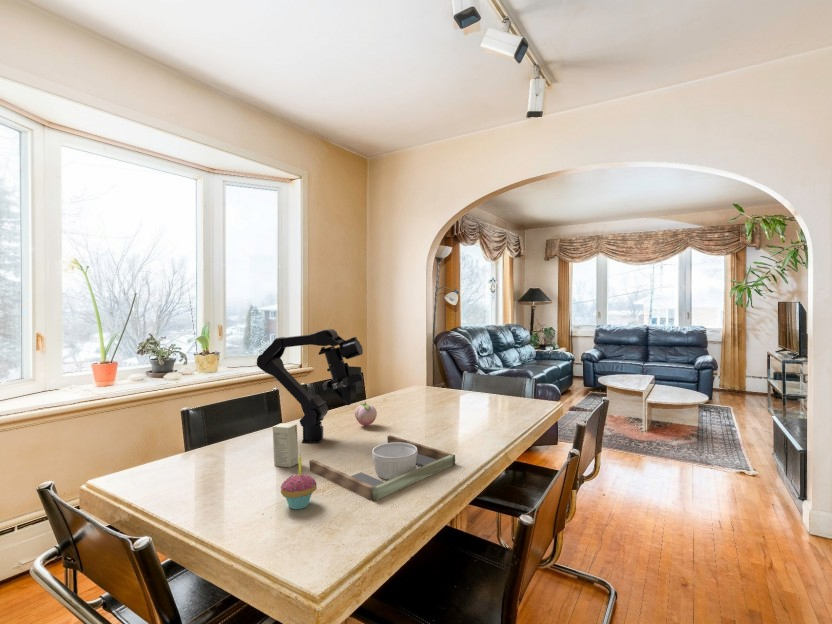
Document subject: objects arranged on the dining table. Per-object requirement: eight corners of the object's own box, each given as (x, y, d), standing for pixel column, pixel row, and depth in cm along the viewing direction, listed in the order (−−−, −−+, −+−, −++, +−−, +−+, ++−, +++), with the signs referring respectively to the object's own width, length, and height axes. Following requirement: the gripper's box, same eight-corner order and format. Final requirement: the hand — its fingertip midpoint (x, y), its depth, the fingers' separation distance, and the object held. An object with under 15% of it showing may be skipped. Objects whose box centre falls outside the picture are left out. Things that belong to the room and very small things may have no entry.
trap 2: (400, 459, 133) (400, 457, 133) (414, 454, 138) (414, 452, 138) (424, 468, 126) (424, 465, 126) (437, 462, 131) (437, 459, 131)
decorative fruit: (381, 427, 169) (380, 402, 168) (362, 431, 164) (362, 405, 164) (369, 422, 176) (369, 398, 176) (352, 425, 172) (351, 401, 172)
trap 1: (344, 481, 117) (344, 478, 117) (361, 475, 122) (361, 472, 122) (367, 492, 110) (367, 489, 110) (384, 485, 115) (384, 482, 115)
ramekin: (364, 478, 119) (363, 454, 119) (384, 462, 132) (383, 439, 132) (407, 485, 115) (407, 459, 115) (424, 467, 127) (423, 444, 127)
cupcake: (285, 497, 108) (284, 451, 108) (319, 496, 109) (318, 449, 108) (277, 514, 99) (276, 463, 99) (314, 512, 100) (313, 462, 100)
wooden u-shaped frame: (309, 470, 126) (309, 460, 125) (390, 443, 149) (389, 435, 149) (373, 501, 105) (373, 489, 105) (455, 464, 129) (455, 454, 129)
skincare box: (299, 462, 132) (298, 423, 132) (290, 468, 128) (289, 427, 127) (281, 460, 134) (281, 422, 134) (272, 465, 130) (272, 426, 130)
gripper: (368, 352, 150) (381, 394, 149) (341, 360, 164) (353, 399, 163) (342, 361, 143) (356, 405, 142) (316, 369, 156) (329, 409, 156)
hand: (349, 404), depth 151 cm, fingers closed
